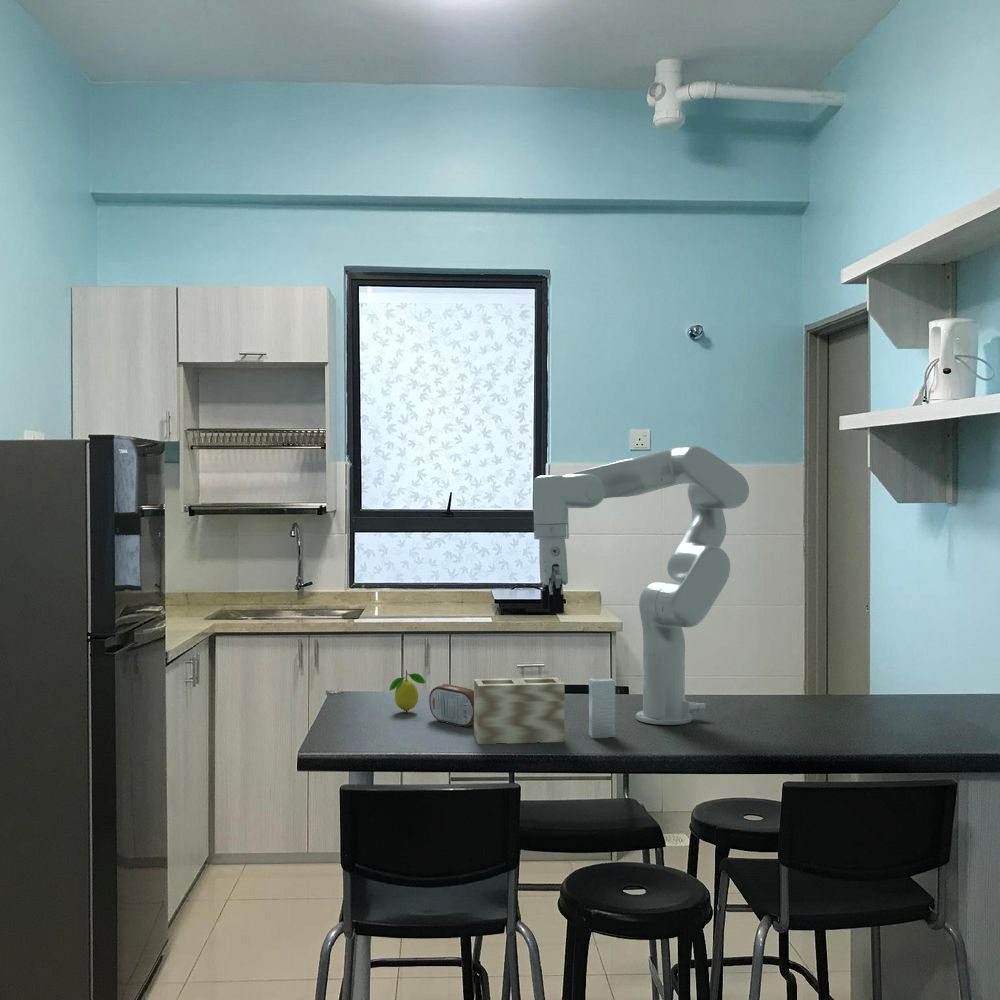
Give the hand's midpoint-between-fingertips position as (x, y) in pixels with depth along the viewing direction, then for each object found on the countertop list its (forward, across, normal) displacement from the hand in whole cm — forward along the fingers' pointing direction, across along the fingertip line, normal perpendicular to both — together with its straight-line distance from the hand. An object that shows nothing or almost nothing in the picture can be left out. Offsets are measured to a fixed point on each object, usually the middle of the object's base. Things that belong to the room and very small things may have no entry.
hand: (552, 611), depth 217 cm
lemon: (+26, +23, +32) cm, 47 cm away
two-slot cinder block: (+26, -6, +9) cm, 28 cm away
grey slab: (+26, -5, -9) cm, 28 cm away
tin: (+26, +10, +21) cm, 35 cm away
